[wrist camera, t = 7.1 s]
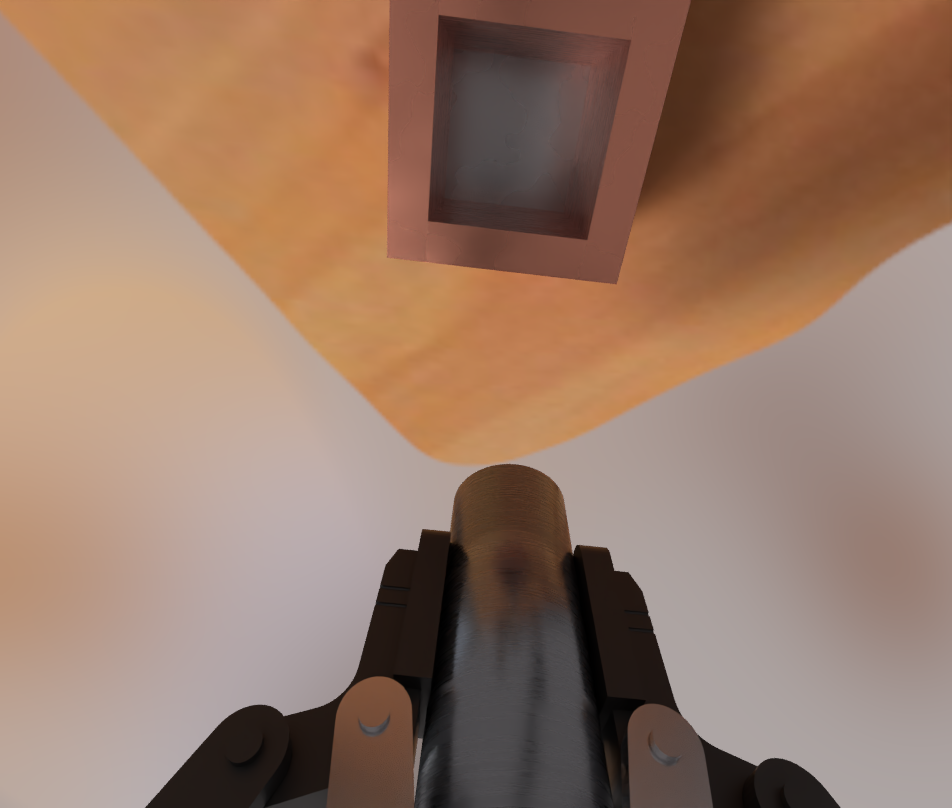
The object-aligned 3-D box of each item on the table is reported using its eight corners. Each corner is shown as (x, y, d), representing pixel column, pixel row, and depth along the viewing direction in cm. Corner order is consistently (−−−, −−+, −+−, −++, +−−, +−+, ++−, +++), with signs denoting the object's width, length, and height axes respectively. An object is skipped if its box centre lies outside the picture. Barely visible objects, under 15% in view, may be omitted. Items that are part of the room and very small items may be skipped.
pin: (573, 469, 13) (655, 873, 6) (555, 551, 14) (602, 940, 7) (456, 459, 13) (401, 849, 6) (451, 541, 14) (403, 922, 8)
